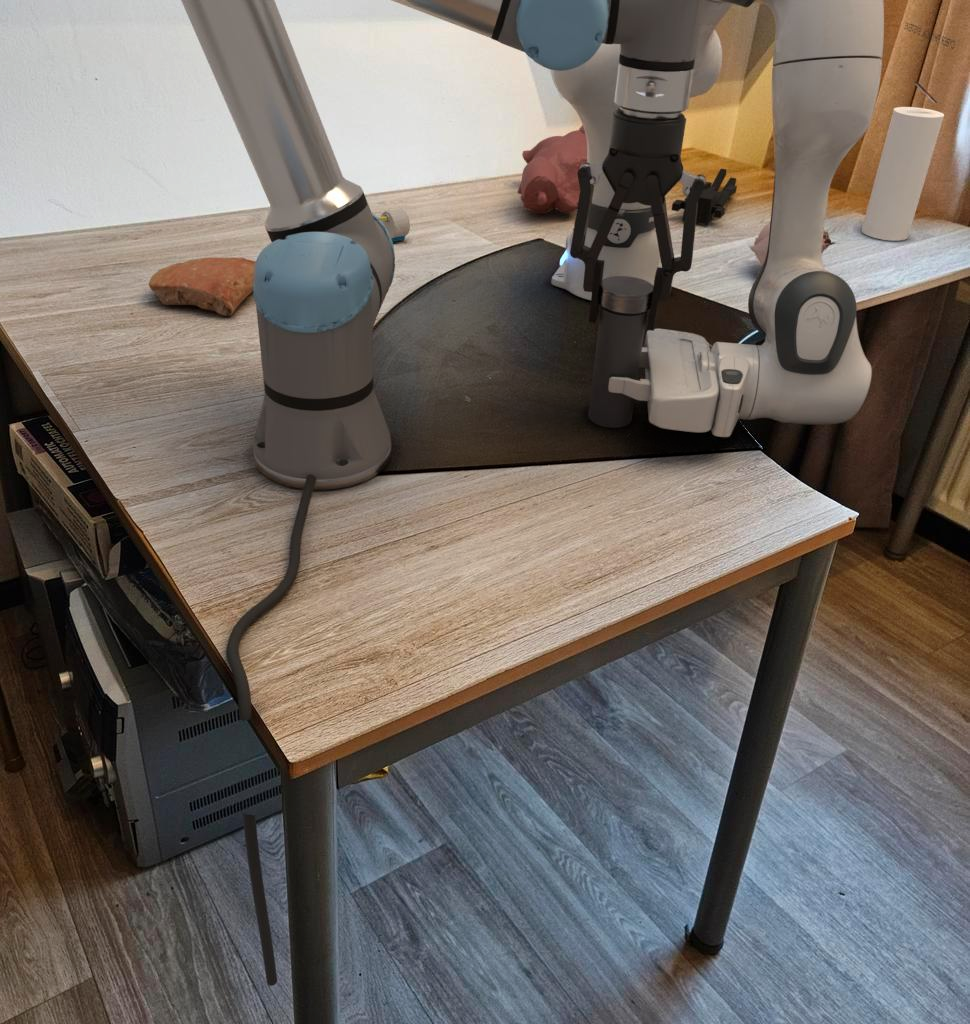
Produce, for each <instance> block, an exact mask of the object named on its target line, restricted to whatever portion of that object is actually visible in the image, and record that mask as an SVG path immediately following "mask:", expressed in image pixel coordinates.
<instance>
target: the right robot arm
mask: <svg viewBox="0 0 970 1024" xmlns="http://www.w3.org/2000/svg"><path fill="white" fill-rule="evenodd" d="M884 3H885V2H884V0H705V2H704V8H703V14H702V20H701V26H700V32H699V38H698V44H697V50H696V56H695V63H694V73H693V79H692V86H691V92H690V99H692V98H696V97H698V96H702V95H704V94H706V93H708V92H709V91H710V90H711V89H712V87H713V86H714V85H715V83H716V82H717V79H718V77H719V76H720V73H721V69H722V65H723V47H722V43H721V42H722V41H721V39H720V37H719V35H718V32H717V31H716V29H717V27H718V25H719V24H720V23H721V21H722V20H723V19H724V17H725V16H726V14H727V13H728V12H729V10H730V9H731V8H732V6H733V5H737V6H739V7H742V8H749V7H750V6H751V5H753V4H759V5H760V4H761V5H765V6H767V7H768V8H769V10H770V11H771V12H772V14H773V16H774V17H773V18H774V22H775V35H774V36H775V37H774V44H773V45H774V46H773V54H772V68H771V69H772V70H771V122H772V133H773V134H772V135H773V136H772V137H773V156H774V157H773V159H774V180H773V190H772V203H771V211H770V212H771V213H770V221H771V222H770V221H769V222H770V232H769V242H768V249H767V254H766V257H765V260H764V263H763V265H762V266H761V268H760V269H759V272H758V273H757V276H756V278H754V281H753V283H752V285H751V288H750V291H749V294H748V300H747V308H748V309H747V310H748V315H749V318H750V321H751V324H752V325H753V326H754V328H755V329H756V330H757V332H758V333H759V334H760V335H761V336H762V337H764V338H765V339H764V342H763V343H762V344H748V343H736V342H725V341H715V342H714V343H713V345H712V344H710V343H709V342H708V341H707V340H706V338H705V337H704V336H702V335H700V334H696V333H692V332H687V331H680V330H673V329H665V328H654V331H651V330H647V331H646V334H645V339H644V346H642V352H641V359H640V366H639V368H642V369H643V368H644V375H645V376H644V377H645V378H639V380H638V379H637V380H634V379H630V378H626V377H625V374H614V373H612V374H610V375H609V382H608V390H609V392H612V393H623V394H624V395H627V396H629V397H631V398H634V399H635V400H636V401H642V402H647V414H648V422H649V423H650V424H651V425H653V426H655V427H657V428H659V429H664V430H670V431H678V432H679V431H680V432H686V433H688V432H689V433H707V432H709V431H710V432H711V434H712V435H713V436H715V437H720V438H730V437H731V435H732V433H733V431H734V429H735V427H736V425H737V423H738V421H739V420H746V421H747V420H748V421H751V420H757V419H769V420H774V421H776V422H779V423H781V424H791V425H792V424H793V425H808V426H809V425H810V426H813V425H814V426H815V425H816V426H821V425H823V426H824V425H825V426H826V425H836V424H842V423H846V422H848V421H850V420H852V419H853V418H854V417H855V416H856V415H857V414H858V413H859V411H860V410H862V408H863V407H864V404H865V403H866V401H867V399H868V396H869V393H870V391H871V387H872V379H873V367H872V364H871V363H870V361H869V360H868V358H867V357H866V355H865V352H864V350H863V347H862V344H861V340H860V336H859V330H858V322H857V309H858V307H857V300H856V296H855V293H854V291H853V290H852V288H851V287H850V285H849V284H848V282H846V281H845V280H844V279H843V278H842V277H840V276H838V275H837V274H835V273H833V272H830V271H828V270H826V269H825V266H824V262H823V257H822V256H823V255H822V254H821V252H822V242H823V234H824V230H825V224H826V218H827V217H826V216H827V208H828V202H829V201H828V200H829V192H830V189H831V184H832V181H833V179H834V176H835V174H836V172H837V170H838V168H839V166H840V164H841V163H842V161H843V160H844V158H846V155H848V153H849V152H850V151H851V150H852V148H854V146H855V145H856V144H857V143H858V142H859V140H860V139H861V138H863V136H864V134H865V133H866V132H867V130H868V128H869V127H870V124H871V121H872V117H873V113H874V110H875V106H876V102H877V99H878V94H879V89H880V84H881V75H882V66H883V60H882V59H883V53H884V41H885V40H884V37H885V5H884ZM619 56H620V44H602V43H601V45H600V47H599V49H598V50H597V52H596V53H595V54H594V55H593V56H592V57H591V58H590V59H589V60H588V61H587V62H586V63H584V64H582V65H581V66H579V67H576V68H574V69H570V70H565V71H556V70H551V69H550V74H551V79H552V81H553V84H554V86H555V88H556V90H557V91H558V93H559V94H560V95H561V97H562V98H563V99H564V100H566V102H568V103H569V104H570V106H572V108H573V109H574V110H575V112H576V114H577V116H578V117H579V120H580V122H581V125H583V127H584V131H585V135H586V140H587V162H588V163H590V164H595V163H600V162H603V161H604V159H605V158H606V156H607V155H608V152H609V145H610V136H611V127H612V118H613V113H614V112H615V111H616V110H617V109H618V108H619V106H617V105H616V103H615V102H614V100H615V91H616V82H617V74H618V65H619ZM614 194H615V193H614V191H613V189H612V187H611V185H610V183H609V182H608V180H607V178H606V176H605V174H604V173H603V174H601V175H600V179H599V181H598V183H597V184H596V185H594V192H593V198H592V203H591V209H590V215H589V221H588V226H587V232H586V238H585V244H584V245H585V246H587V247H589V248H591V246H592V243H593V241H594V239H595V237H596V234H597V232H598V230H599V228H600V225H601V223H602V221H603V219H604V216H605V214H606V212H607V210H608V207H609V205H610V203H611V201H612V198H613V196H614ZM573 231H574V229H573V230H572V231H571V232H570V233H568V234H567V235H566V239H565V248H566V249H565V251H564V253H563V254H562V256H561V258H560V260H559V267H558V269H556V271H555V272H554V274H553V275H552V276H551V279H550V284H551V285H552V286H555V287H557V288H561V289H562V290H563V289H564V290H566V291H567V292H569V293H570V294H573V296H576V297H578V298H581V299H584V300H588V301H591V297H592V292H586V291H584V289H583V282H584V273H585V264H584V262H583V261H582V260H580V259H578V258H573V257H572V256H571V255H570V250H571V243H572V237H573ZM598 260H604V261H605V262H604V271H603V279H602V280H604V279H606V278H608V277H614V276H629V277H635V278H640V279H643V280H645V281H648V282H649V283H651V284H652V285H653V286H654V280H655V274H656V270H657V267H661V268H662V265H661V259H660V253H659V247H658V241H657V236H656V230H655V224H654V218H653V215H652V210H651V206H648V205H643V204H641V203H638V202H636V203H622V206H621V208H620V210H619V212H618V214H617V217H616V219H615V221H614V223H613V225H612V228H611V230H610V232H609V234H608V237H607V239H606V241H605V243H604V245H603V248H602V250H601V252H600V254H599V256H598Z"/></svg>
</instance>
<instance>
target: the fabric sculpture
mask: <svg viewBox="0 0 970 1024" xmlns="http://www.w3.org/2000/svg"><path fill="white" fill-rule="evenodd" d="M521 156H522V158H523V160H524V162H525V163H526V164H525V166H524V168H523V170H522V172H521V173H522V174H521V180H520V181H521V182H520V185H519V186H518V189H517V194H518V195H520V200H521V202H522V203H523V207H524V209H525V210H529V211H530V212H532V213H535V214H546V213H549V212H551V211H552V210H553V209H554V208H555V209H556V210H557V211H559V212H560V213H564V214H569V213H573V212H575V211H577V207H578V201H579V195H580V186H579V180H578V175H577V173H578V170H579V168H580V167H581V165H582V164H583V163H585V162H587V140H586V135H585V131H584V127H583V124H581V126H580V127H579V129H576V130H573V131H570V132H568V133H566V134H565V135H554V136H549V137H546V138H544V139H542V140H540V141H539V142H538V143H536V145H535V146H534V147H532V148H531V149H529V150H523V151H522V153H521Z"/></svg>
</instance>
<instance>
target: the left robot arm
mask: <svg viewBox="0 0 970 1024" xmlns="http://www.w3.org/2000/svg"><path fill="white" fill-rule="evenodd" d="M180 1H181V4H182V6H183V8H184V10H185V13H186V15H187V17H188V20H189V22H190V24H191V27H192V28H193V31H194V33H195V36H196V38H197V40H198V43H199V45H200V47H201V49H202V51H203V54H204V56H205V58H206V61H207V63H208V65H209V68H210V70H211V72H212V75H213V77H214V79H215V81H216V84H217V86H218V88H219V91H220V93H221V95H222V97H223V98H222V99H223V100H224V102H225V104H226V107H227V109H228V111H229V113H230V116H231V118H232V120H233V122H234V125H235V127H236V130H237V132H238V135H239V137H240V139H241V141H242V143H243V146H244V148H245V150H246V153H247V155H248V157H249V160H250V161H251V164H252V167H253V169H254V171H255V172H256V176H257V177H258V180H259V182H260V185H261V187H262V190H263V191H264V194H265V196H266V198H267V201H268V203H269V211H268V213H267V216H266V219H265V222H264V224H263V225H264V228H265V229H264V230H266V232H267V235H268V238H269V240H270V242H271V243H268V245H266V246H265V247H263V249H261V251H260V252H259V254H258V256H257V257H256V259H255V267H254V281H253V291H252V292H253V299H254V303H255V307H256V318H257V326H258V327H257V328H258V329H257V330H258V337H259V339H258V340H259V349H260V359H261V369H262V378H263V388H264V390H263V391H264V396H263V400H262V404H261V408H260V412H259V415H258V419H257V423H256V427H255V430H254V434H253V439H252V441H253V442H252V455H253V460H254V464H255V467H256V468H257V470H258V471H259V472H260V473H261V474H262V475H263V476H265V477H266V478H268V479H269V480H271V481H273V482H275V483H278V484H280V485H283V486H286V487H290V488H295V489H301V490H302V494H301V497H300V501H299V505H298V509H297V513H296V516H295V519H294V524H293V527H292V531H291V536H290V545H289V560H288V566H287V569H286V572H285V574H284V576H283V578H282V580H281V581H280V583H279V584H278V585H277V586H276V588H274V589H273V591H272V592H271V593H269V594H268V595H267V596H265V597H264V598H263V599H262V600H260V601H259V602H258V603H257V604H255V605H254V606H252V607H251V608H250V609H248V610H247V611H246V612H245V613H244V614H243V615H242V616H241V617H240V618H239V619H238V621H237V622H236V623H235V625H234V626H233V627H232V630H231V632H230V634H229V637H228V640H227V645H226V650H225V651H226V659H227V663H228V666H229V669H230V671H231V674H232V676H233V680H234V685H235V689H236V695H237V706H238V718H239V720H240V721H242V722H245V721H248V720H250V719H251V718H252V714H253V713H252V712H253V709H252V698H251V697H252V696H251V695H252V694H251V689H250V683H249V679H248V676H247V673H246V670H245V667H244V665H243V662H242V660H241V656H240V642H241V640H242V638H243V635H244V634H245V632H247V630H248V628H249V627H250V626H251V625H252V624H253V623H254V622H255V621H257V620H258V618H259V617H261V616H262V615H264V614H265V613H266V612H267V611H269V609H271V608H272V607H274V606H275V605H276V604H277V603H278V602H280V600H281V599H283V598H284V596H286V595H287V593H288V592H289V591H290V589H291V587H292V586H293V585H294V582H295V580H296V578H297V575H298V573H299V568H300V564H301V549H302V547H301V545H302V536H303V531H304V527H305V522H306V518H307V515H308V511H309V507H310V504H311V499H312V495H313V492H314V490H315V491H323V490H327V491H328V490H337V489H342V488H348V487H351V486H355V485H358V484H361V483H363V482H366V481H368V480H370V479H373V478H374V477H375V476H377V475H378V474H380V473H381V472H382V471H383V470H384V469H385V468H386V467H387V466H388V464H389V463H390V461H391V458H392V438H391V432H390V430H389V427H388V424H387V422H386V419H385V417H384V413H383V411H382V408H381V406H380V403H379V400H378V398H377V395H376V393H375V385H374V341H373V340H374V339H373V338H374V326H375V323H376V320H377V318H378V315H379V312H380V310H381V308H382V306H383V303H384V301H385V298H386V296H387V294H388V292H389V290H390V288H391V286H392V283H393V282H394V281H393V280H394V276H395V270H396V253H395V246H394V242H392V239H391V236H390V234H389V232H388V230H387V228H386V227H385V225H384V224H383V223H382V221H381V220H380V219H379V218H378V217H379V216H377V215H376V214H375V213H373V212H372V210H371V208H370V205H369V202H368V200H367V198H366V195H365V193H364V190H363V188H362V186H361V185H360V184H359V185H358V184H357V183H354V182H352V181H350V180H348V179H346V178H345V177H344V175H343V173H342V171H341V168H340V164H339V162H338V160H337V158H336V155H335V153H334V150H333V147H332V145H331V142H330V139H329V136H328V135H327V132H326V129H325V126H324V124H323V121H322V119H321V115H320V114H319V111H318V109H317V106H316V104H315V101H314V98H313V96H312V92H311V90H310V88H309V85H308V83H307V80H306V78H305V75H304V73H303V71H302V68H301V65H300V63H299V59H298V57H297V55H296V52H295V50H294V47H293V45H292V44H293V43H291V40H290V37H289V34H288V31H287V29H286V27H285V24H284V21H283V19H282V16H281V14H280V11H279V8H278V6H277V4H276V0H180ZM391 1H392V2H394V3H397V4H400V5H403V6H405V7H408V8H410V9H413V10H416V11H418V12H421V13H423V14H426V15H429V16H432V17H434V18H437V19H439V20H441V21H444V22H447V23H450V24H452V25H455V26H458V27H461V28H462V29H466V30H469V31H471V32H474V33H475V34H478V35H481V36H484V37H487V38H490V39H491V40H493V41H495V42H498V43H500V44H502V45H505V46H507V47H509V48H512V49H515V50H518V51H520V52H522V53H525V55H526V56H528V57H529V58H530V59H531V60H532V61H533V62H535V64H538V65H539V66H541V67H543V68H545V69H547V70H550V71H551V70H556V71H565V70H570V69H574V68H576V67H579V66H581V65H582V64H584V63H586V62H587V61H588V60H589V59H590V58H591V57H592V56H593V55H594V54H595V53H596V52H597V50H598V49H599V47H600V45H601V43H602V44H620V56H619V65H618V74H617V82H616V91H615V100H614V102H615V103H616V105H617V106H619V108H618V109H617V110H616V111H615V112H614V113H613V118H612V127H611V136H610V145H609V152H608V155H607V156H606V158H605V159H604V161H603V162H600V163H595V164H590V163H588V162H585V163H583V164H582V165H581V167H580V168H579V170H578V173H577V175H578V180H579V186H580V195H579V201H578V207H577V210H576V213H575V220H574V225H573V230H574V231H573V230H572V231H573V237H572V243H571V250H570V255H571V256H572V257H573V258H578V259H580V260H582V261H583V262H584V264H585V273H584V282H583V289H584V291H586V292H592V297H591V300H590V307H589V314H588V315H589V316H588V323H592V324H596V322H597V319H598V318H599V317H598V316H599V314H600V313H599V312H600V306H601V305H600V304H599V302H598V300H599V292H600V284H601V281H602V279H603V271H604V262H605V261H604V260H598V256H599V254H600V252H601V250H602V248H603V245H604V243H605V241H606V239H607V237H608V234H609V232H610V230H611V228H612V225H613V223H614V221H615V219H616V217H617V214H618V212H619V210H620V208H621V206H622V203H636V202H638V203H641V204H643V205H648V206H651V210H652V215H653V218H654V224H655V231H656V236H657V241H658V247H659V253H660V259H661V267H657V270H656V274H655V280H654V286H653V293H652V300H651V307H650V309H649V315H648V322H647V327H646V330H647V331H648V330H651V331H654V329H655V327H656V322H657V317H658V309H659V303H660V302H665V303H667V302H668V301H669V300H670V298H671V292H672V287H673V281H674V275H675V274H677V273H679V272H685V273H687V272H689V271H690V270H691V268H692V263H693V256H694V247H695V246H694V245H695V235H696V226H697V223H696V217H697V206H698V200H699V198H700V196H701V194H702V192H703V190H704V187H705V182H707V179H706V176H705V175H704V174H702V173H701V174H697V175H696V174H694V173H691V172H688V171H687V170H684V166H683V163H682V151H683V150H682V149H683V144H684V136H685V130H686V124H687V118H686V117H685V114H684V113H683V112H685V111H686V110H688V108H689V104H690V99H691V98H690V92H691V86H692V79H693V73H694V63H695V56H696V50H697V44H698V38H699V32H700V26H701V20H702V14H703V8H704V2H705V0H391ZM603 173H604V174H605V176H606V178H607V180H608V182H609V183H610V185H611V187H612V189H613V191H614V193H615V194H614V196H613V198H612V201H611V203H610V205H609V207H608V210H607V212H606V214H605V216H604V219H603V221H602V223H601V225H600V228H599V230H598V232H597V234H596V237H595V239H594V241H593V243H592V246H591V248H589V247H587V246H585V245H584V244H585V238H586V232H587V226H588V221H589V215H590V209H591V203H592V198H593V192H594V185H596V184H597V183H598V181H599V179H600V175H601V174H603ZM679 182H680V183H681V185H682V191H681V192H682V194H683V195H684V196H686V197H687V200H686V205H685V214H684V213H683V215H684V221H683V228H682V236H681V237H682V239H681V249H680V250H681V251H680V256H677V257H675V253H674V246H673V241H672V235H671V228H670V221H669V216H668V209H667V200H666V195H668V193H669V192H670V191H671V190H672V189H673V188H674V187H675V186H676V185H677V184H678V183H679ZM256 819H257V817H256V814H248V813H247V814H246V813H242V822H243V830H244V840H245V848H246V857H247V865H248V873H249V877H250V878H249V879H250V885H251V892H252V897H253V903H254V910H255V916H256V921H257V927H258V932H259V939H260V945H261V952H262V959H263V966H264V972H265V980H266V984H267V986H270V987H273V986H275V985H276V984H277V982H278V974H277V966H276V960H275V952H274V945H273V938H272V932H271V925H270V918H269V913H268V907H267V900H266V893H265V887H264V879H263V873H262V865H261V859H260V857H261V855H260V849H259V848H260V847H259V839H258V828H257V820H256Z"/></svg>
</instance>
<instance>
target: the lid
mask: <svg viewBox="0 0 970 1024" xmlns="http://www.w3.org/2000/svg"><path fill="white" fill-rule="evenodd" d="M652 293H653V285H652V284H651V283H649V282H648V281H645V280H643V279H640V278H635V277H629V276H614V277H608V278H606V279H604V280H602V281H601V284H600V292H599V300H598V302H599V304H600V305H599V306H600V307H601V306H602V307H604V308H606V309H608V310H611V311H614V312H619V313H628V314H633V313H642V312H645V311H647V312H648V311H650V307H651V300H652Z"/></svg>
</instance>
